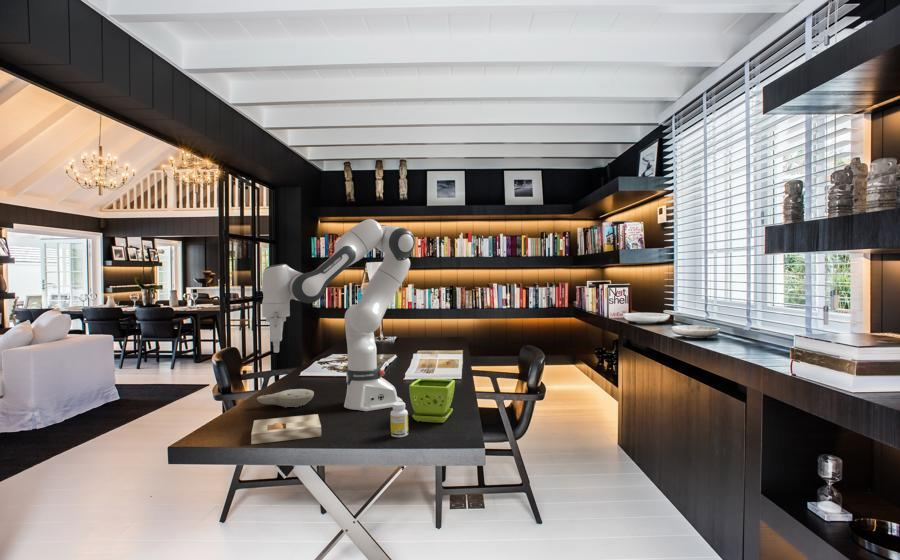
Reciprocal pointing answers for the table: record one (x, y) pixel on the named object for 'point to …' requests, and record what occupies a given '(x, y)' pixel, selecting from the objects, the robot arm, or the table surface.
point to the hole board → (286, 429)
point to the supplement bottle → (399, 420)
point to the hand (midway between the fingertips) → (276, 352)
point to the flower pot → (431, 399)
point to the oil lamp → (288, 398)
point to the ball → (276, 426)
